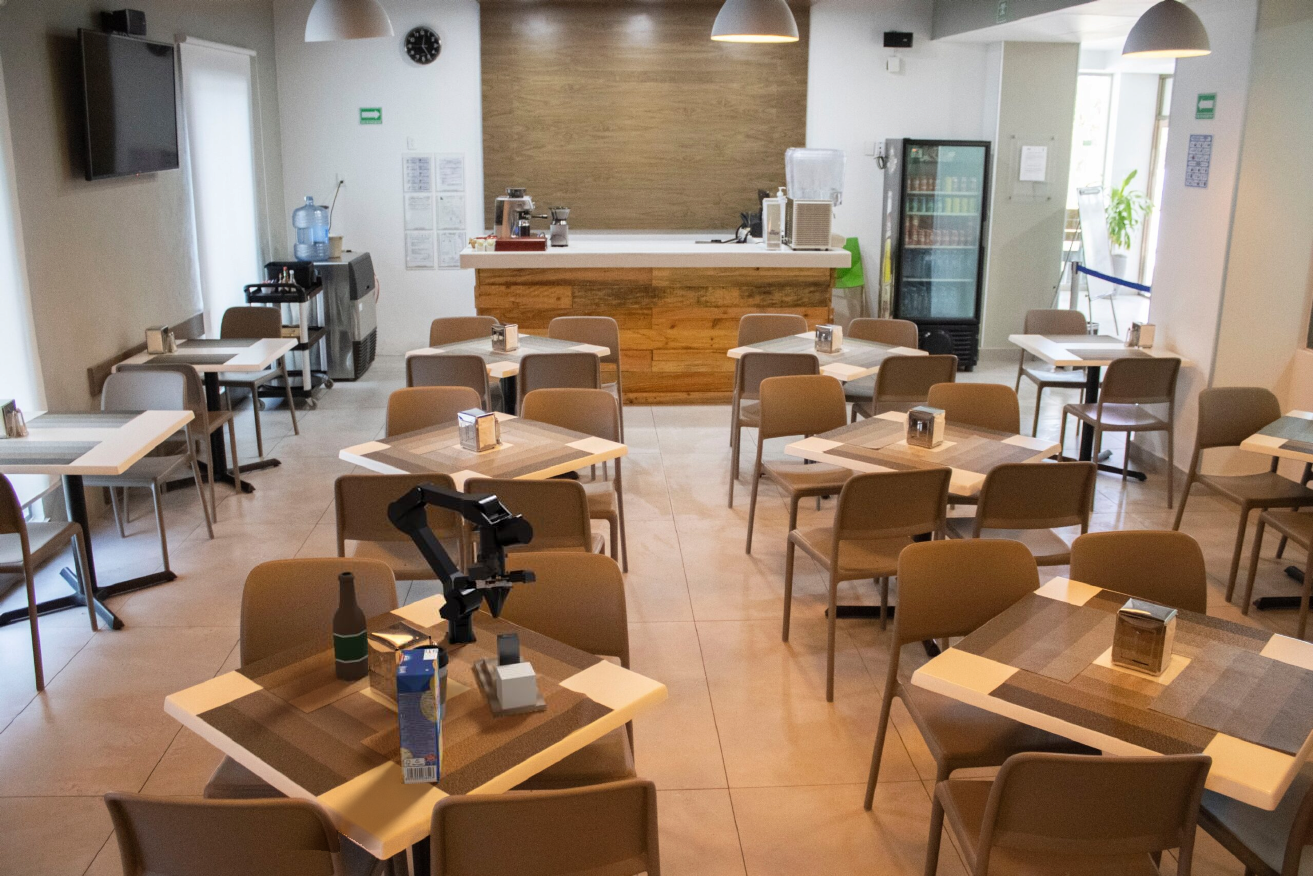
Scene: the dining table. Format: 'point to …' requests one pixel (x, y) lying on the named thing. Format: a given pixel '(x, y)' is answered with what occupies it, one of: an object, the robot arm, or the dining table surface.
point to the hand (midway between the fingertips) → (495, 618)
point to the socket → (516, 685)
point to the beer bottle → (350, 633)
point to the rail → (489, 684)
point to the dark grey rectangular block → (508, 649)
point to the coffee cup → (440, 673)
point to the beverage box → (419, 715)
